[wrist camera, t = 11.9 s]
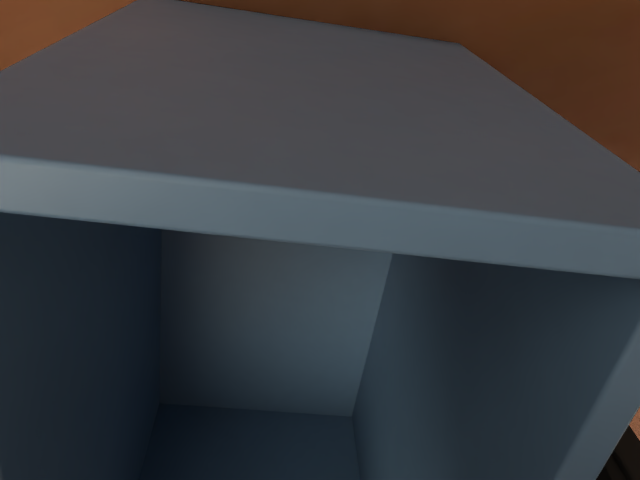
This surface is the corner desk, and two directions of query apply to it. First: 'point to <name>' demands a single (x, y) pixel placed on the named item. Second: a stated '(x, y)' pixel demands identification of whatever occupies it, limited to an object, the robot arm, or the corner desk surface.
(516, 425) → the blue bin
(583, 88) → the corner desk surface
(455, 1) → the corner desk surface
